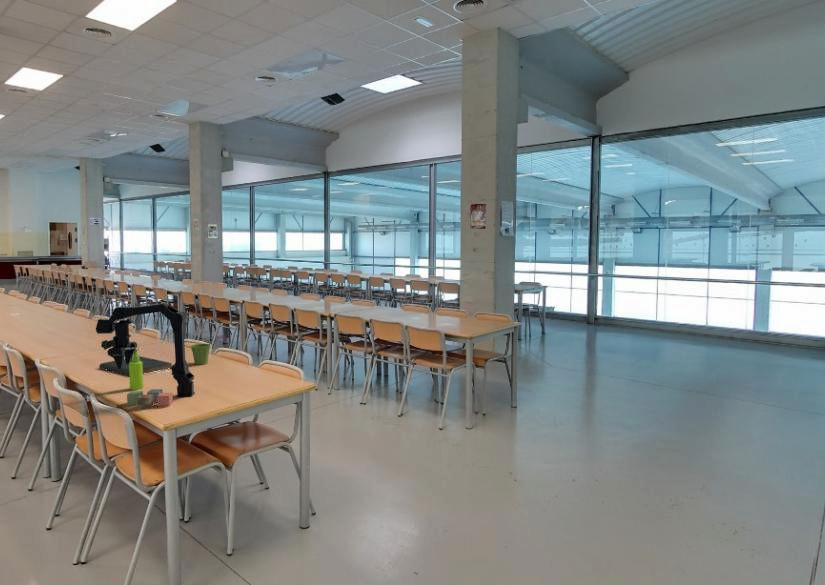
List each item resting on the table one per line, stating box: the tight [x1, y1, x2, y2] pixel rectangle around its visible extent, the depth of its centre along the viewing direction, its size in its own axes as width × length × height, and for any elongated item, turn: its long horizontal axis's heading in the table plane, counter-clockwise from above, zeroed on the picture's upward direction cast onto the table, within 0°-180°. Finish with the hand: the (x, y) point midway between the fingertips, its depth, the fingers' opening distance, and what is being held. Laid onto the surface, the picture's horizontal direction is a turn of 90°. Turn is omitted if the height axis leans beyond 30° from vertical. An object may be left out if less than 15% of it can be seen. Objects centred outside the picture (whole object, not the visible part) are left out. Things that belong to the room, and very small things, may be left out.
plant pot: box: [189, 343, 212, 365], centre depth 323 cm, size 12×12×11 cm
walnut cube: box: [136, 394, 154, 410], centre depth 237 cm, size 5×5×5 cm
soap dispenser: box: [129, 348, 144, 391], centre depth 266 cm, size 6×7×20 cm
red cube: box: [156, 392, 174, 407], centre depth 241 cm, size 5×5×5 cm
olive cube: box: [126, 390, 144, 406], centre depth 242 cm, size 5×5×5 cm
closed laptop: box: [98, 355, 173, 377], centre depth 308 cm, size 33×4×24 cm
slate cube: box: [146, 388, 164, 402], centre depth 246 cm, size 5×5×5 cm
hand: (123, 366), depth 252 cm, fingers open, 9 cm apart
